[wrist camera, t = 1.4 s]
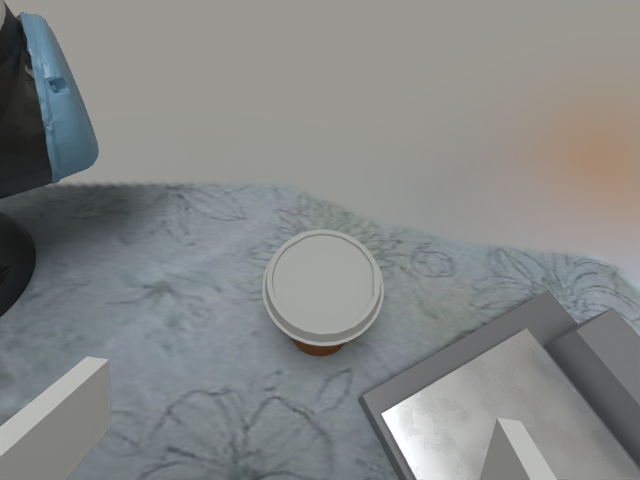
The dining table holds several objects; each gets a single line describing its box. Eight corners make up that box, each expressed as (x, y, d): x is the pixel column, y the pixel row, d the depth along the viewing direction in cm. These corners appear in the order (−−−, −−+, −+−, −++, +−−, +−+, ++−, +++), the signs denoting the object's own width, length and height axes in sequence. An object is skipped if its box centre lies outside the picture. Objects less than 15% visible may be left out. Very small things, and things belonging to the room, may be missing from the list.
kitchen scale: (358, 399, 35) (371, 386, 28) (535, 298, 41) (583, 266, 34) (499, 670, 26) (568, 748, 20) (699, 494, 32) (808, 506, 25)
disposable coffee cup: (333, 393, 35) (344, 369, 25) (254, 337, 38) (233, 293, 27) (381, 313, 39) (409, 263, 29) (307, 267, 42) (307, 205, 31)
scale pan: (379, 414, 32) (381, 413, 31) (521, 331, 36) (526, 328, 35) (505, 650, 25) (513, 657, 24) (663, 513, 29) (675, 515, 28)
